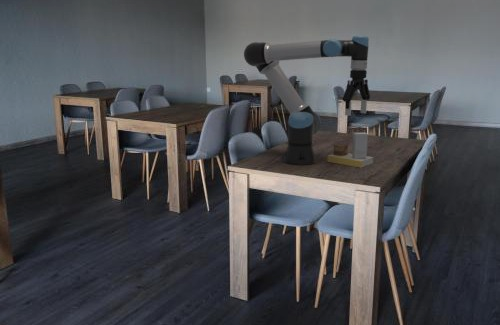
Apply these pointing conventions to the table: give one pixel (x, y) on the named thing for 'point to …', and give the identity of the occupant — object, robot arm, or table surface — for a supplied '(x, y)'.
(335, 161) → the dock
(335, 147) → the brown wooden cube
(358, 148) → the skincare box
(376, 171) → the table surface
